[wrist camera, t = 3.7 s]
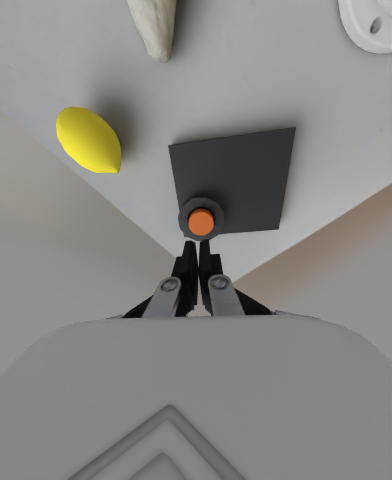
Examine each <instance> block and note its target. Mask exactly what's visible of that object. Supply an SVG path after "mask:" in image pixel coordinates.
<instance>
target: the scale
mask: <svg viewBox="0 0 392 480" xmlns="http://www.w3.org/2000/svg"><path fill="white" fill-rule="evenodd" d="M295 129H296V127H293V128H286V129H279V130H272V131H265V132H258V133H251V134H244V135H238V136H231V137H224V138H217V139H210V140H203V141H196V142H189V143H182V144H176V145H169V146H168V147H169V153H170V158H171V164H172V170H173V176H174V181H175V187H176V193H177V199H178V205H179V210H180V213H179V215H178V221H179V226H180V229H181V230H182V231H183V234H184V237H189V238H191V239H194V240H196V241H202V240H205V239H209V240H210V239H212V238H214V237H215V236H217V235H218V234H227V233H239V232H252V231H264V230H277V229H279V224H280V218H281V212H282V206H283V200H284V194H285V188H286V182H287V176H288V170H289V164H290V158H291V152H292V146H293V141H294V135H295ZM196 209H206V210H208V211H209V212H210V213H211V214H212V216H213V221H214V226H213V229H212V230H211V231H210V232H209V233H208V234H206V235H196V234H194V233H193V232H192V231H191V230H190V228H189V224H188V223H189V218H190V215H191V213H192V212H193V211H195V210H196Z"/></svg>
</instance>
